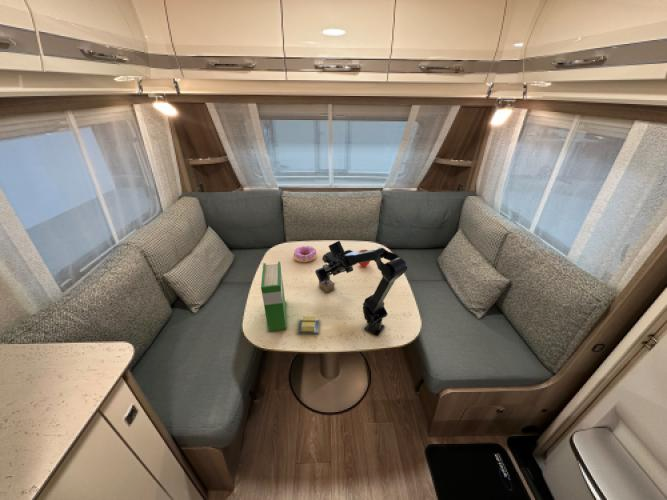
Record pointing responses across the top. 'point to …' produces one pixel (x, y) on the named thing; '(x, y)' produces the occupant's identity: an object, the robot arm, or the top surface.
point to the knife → (327, 273)
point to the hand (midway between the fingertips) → (327, 273)
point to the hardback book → (273, 296)
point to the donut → (305, 250)
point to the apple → (364, 262)
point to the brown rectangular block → (327, 286)
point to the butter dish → (309, 325)
